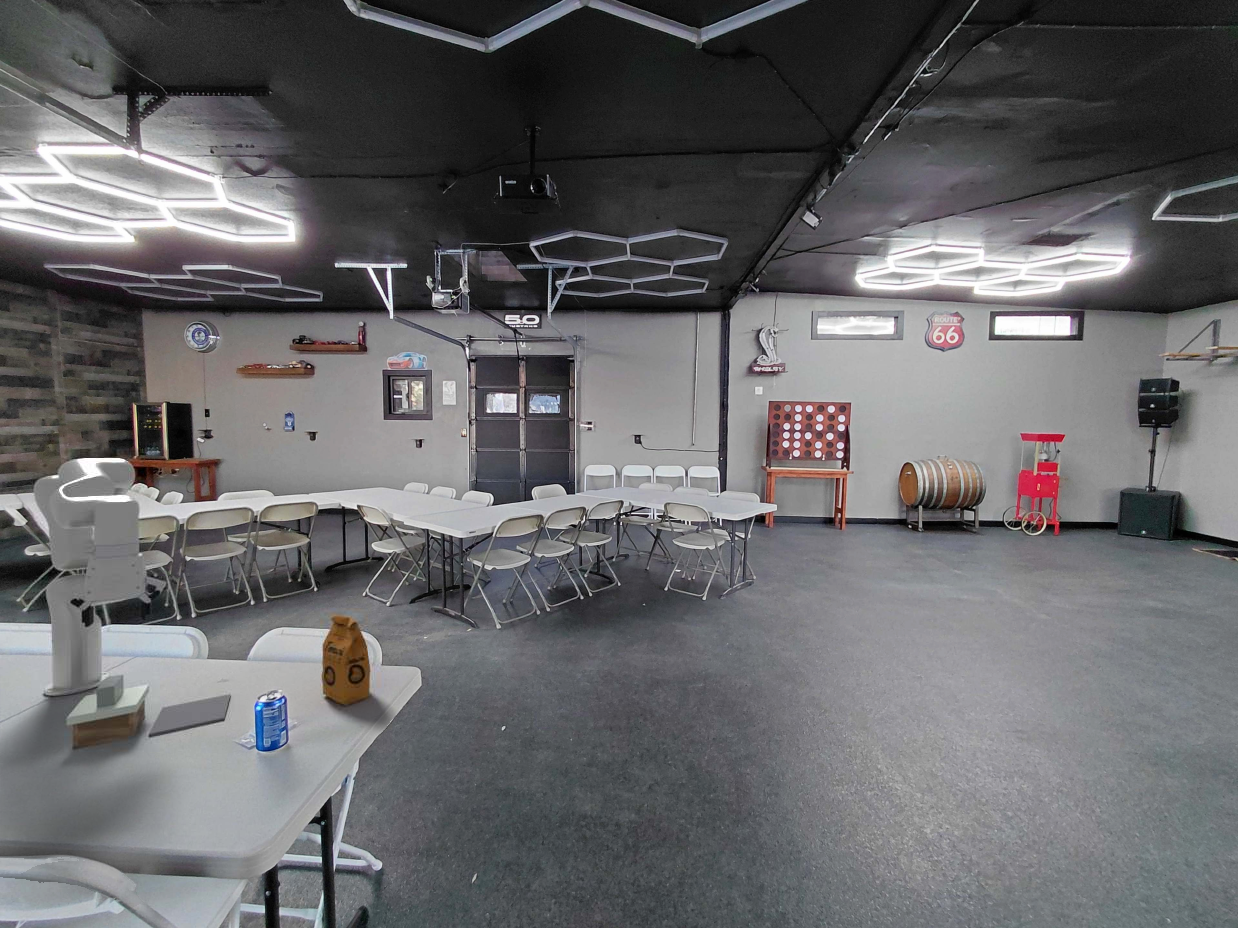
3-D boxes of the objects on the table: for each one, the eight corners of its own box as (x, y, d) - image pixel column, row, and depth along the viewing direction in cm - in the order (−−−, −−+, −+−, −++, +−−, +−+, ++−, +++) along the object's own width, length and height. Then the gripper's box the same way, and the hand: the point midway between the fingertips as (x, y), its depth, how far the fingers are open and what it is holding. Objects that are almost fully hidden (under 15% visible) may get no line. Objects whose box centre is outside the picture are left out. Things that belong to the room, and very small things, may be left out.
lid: (85, 703, 120) (85, 677, 120) (149, 691, 126) (148, 666, 126) (66, 725, 110) (66, 697, 110) (136, 711, 117) (136, 685, 116)
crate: (88, 727, 120) (88, 699, 120) (144, 716, 125) (144, 689, 125) (72, 749, 112) (72, 718, 111) (133, 736, 117) (133, 706, 117)
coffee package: (338, 710, 130) (338, 628, 129) (317, 696, 137) (317, 617, 137) (375, 696, 138) (376, 618, 137) (354, 682, 145) (354, 608, 145)
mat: (162, 709, 129) (162, 707, 129) (230, 696, 136) (230, 693, 136) (148, 736, 117) (148, 733, 117) (224, 719, 125) (224, 717, 125)
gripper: (57, 557, 110) (59, 633, 111) (162, 550, 120) (162, 620, 120) (70, 551, 116) (71, 623, 117) (168, 544, 126) (169, 611, 126)
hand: (117, 621), depth 119 cm, fingers open, 9 cm apart
